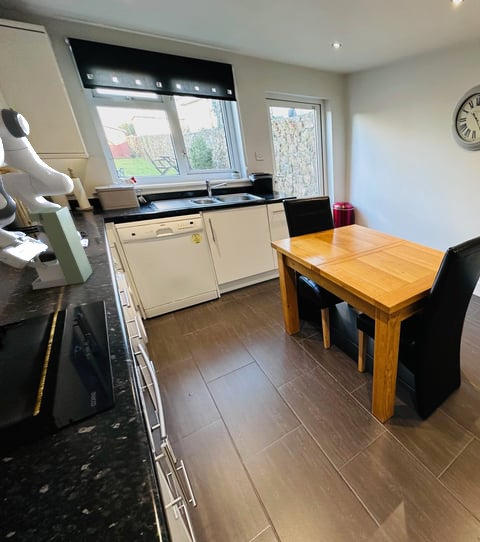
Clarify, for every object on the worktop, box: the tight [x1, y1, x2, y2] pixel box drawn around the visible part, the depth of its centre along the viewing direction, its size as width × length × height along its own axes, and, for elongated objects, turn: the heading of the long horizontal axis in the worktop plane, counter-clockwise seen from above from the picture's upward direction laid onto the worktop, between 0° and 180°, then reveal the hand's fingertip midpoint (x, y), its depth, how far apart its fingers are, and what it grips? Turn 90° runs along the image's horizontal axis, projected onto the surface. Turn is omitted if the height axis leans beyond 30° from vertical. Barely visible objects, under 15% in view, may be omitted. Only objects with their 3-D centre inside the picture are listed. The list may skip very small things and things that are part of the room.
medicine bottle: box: [34, 251, 66, 282], centre depth 113 cm, size 7×7×12 cm
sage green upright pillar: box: [27, 206, 93, 291], centre depth 111 cm, size 12×15×29 cm
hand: (51, 263), depth 113 cm, fingers open, 8 cm apart
